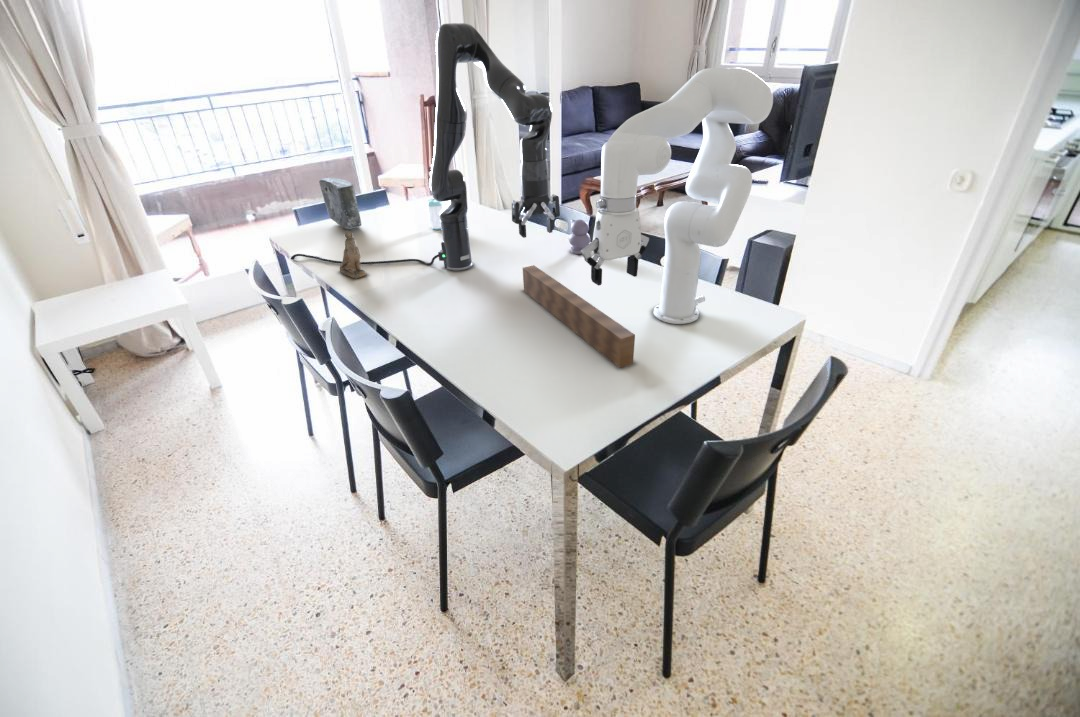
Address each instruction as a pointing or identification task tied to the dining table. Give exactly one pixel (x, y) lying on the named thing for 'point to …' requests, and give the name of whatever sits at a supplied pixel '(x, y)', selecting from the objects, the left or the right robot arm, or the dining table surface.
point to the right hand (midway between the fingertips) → (614, 278)
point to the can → (435, 213)
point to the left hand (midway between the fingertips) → (536, 234)
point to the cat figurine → (579, 235)
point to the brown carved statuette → (351, 258)
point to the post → (581, 316)
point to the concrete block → (341, 202)
